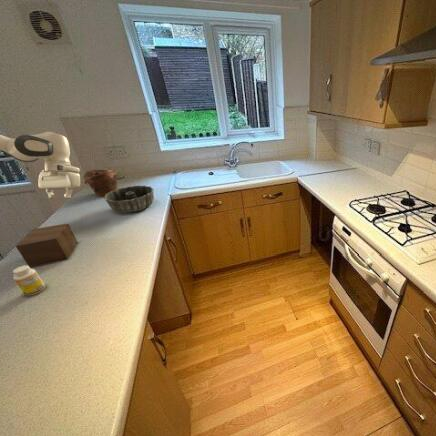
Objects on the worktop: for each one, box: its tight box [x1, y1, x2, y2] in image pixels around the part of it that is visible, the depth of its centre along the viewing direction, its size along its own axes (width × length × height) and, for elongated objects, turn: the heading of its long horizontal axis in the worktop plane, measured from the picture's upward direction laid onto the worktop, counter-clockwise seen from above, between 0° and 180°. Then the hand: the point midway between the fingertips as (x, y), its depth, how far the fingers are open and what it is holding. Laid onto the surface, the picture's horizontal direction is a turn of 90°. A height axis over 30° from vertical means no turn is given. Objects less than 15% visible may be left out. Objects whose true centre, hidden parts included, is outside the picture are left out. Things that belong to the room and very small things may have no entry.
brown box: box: [15, 223, 79, 268], centre depth 106 cm, size 15×13×11 cm
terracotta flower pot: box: [83, 169, 118, 198], centre depth 170 cm, size 18×20×18 cm
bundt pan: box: [103, 185, 155, 214], centre depth 150 cm, size 26×26×10 cm
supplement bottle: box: [12, 264, 46, 296], centre depth 86 cm, size 6×6×10 cm
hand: (59, 198), depth 112 cm, fingers open, 8 cm apart
